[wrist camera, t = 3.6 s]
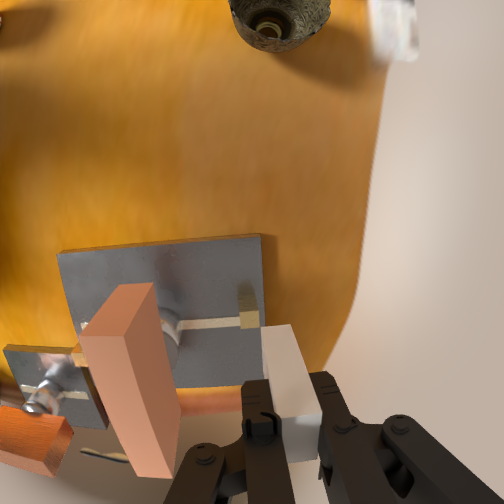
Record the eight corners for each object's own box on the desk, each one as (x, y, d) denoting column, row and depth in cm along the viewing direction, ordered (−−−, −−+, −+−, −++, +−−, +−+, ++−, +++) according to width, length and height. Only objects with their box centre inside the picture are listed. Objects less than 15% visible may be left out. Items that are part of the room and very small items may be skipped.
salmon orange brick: (146, 404, 28) (128, 475, 19) (113, 280, 24) (66, 336, 15) (190, 404, 28) (183, 478, 19) (166, 277, 24) (137, 335, 16)
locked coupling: (39, 413, 35) (2, 480, 21) (8, 344, 31) (-50, 406, 18) (109, 422, 35) (81, 503, 22) (80, 348, 32) (28, 429, 19)
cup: (317, 60, 26) (346, 31, 18) (242, 78, 26) (247, 49, 18) (291, -2, 24) (310, -43, 16) (218, 13, 24) (216, -29, 16)
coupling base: (98, 379, 33) (83, 409, 28) (62, 250, 29) (35, 267, 24) (266, 374, 34) (273, 407, 29) (259, 233, 30) (266, 249, 25)
